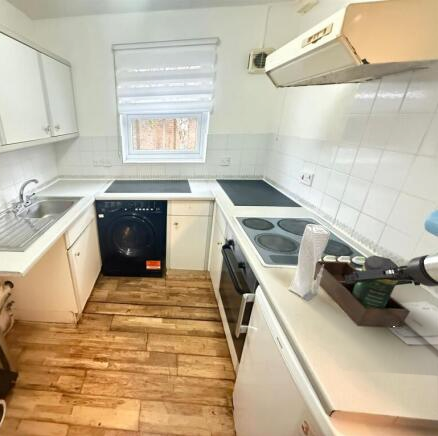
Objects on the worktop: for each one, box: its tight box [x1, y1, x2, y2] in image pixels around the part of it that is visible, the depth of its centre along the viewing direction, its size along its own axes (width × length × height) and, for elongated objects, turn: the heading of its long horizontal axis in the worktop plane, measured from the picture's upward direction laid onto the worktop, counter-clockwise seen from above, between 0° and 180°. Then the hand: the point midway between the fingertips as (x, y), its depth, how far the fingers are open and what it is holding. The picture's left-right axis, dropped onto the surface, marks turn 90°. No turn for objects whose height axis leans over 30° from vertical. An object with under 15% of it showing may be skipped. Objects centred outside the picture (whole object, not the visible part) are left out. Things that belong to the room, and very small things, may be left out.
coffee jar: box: [351, 254, 399, 308], centre depth 76 cm, size 10×8×19 cm
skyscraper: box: [288, 223, 331, 302], centre depth 83 cm, size 8×8×28 cm
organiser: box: [313, 260, 411, 328], centre depth 84 cm, size 13×26×7 cm, turn 176°
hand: (368, 280), depth 78 cm, fingers open, 13 cm apart
